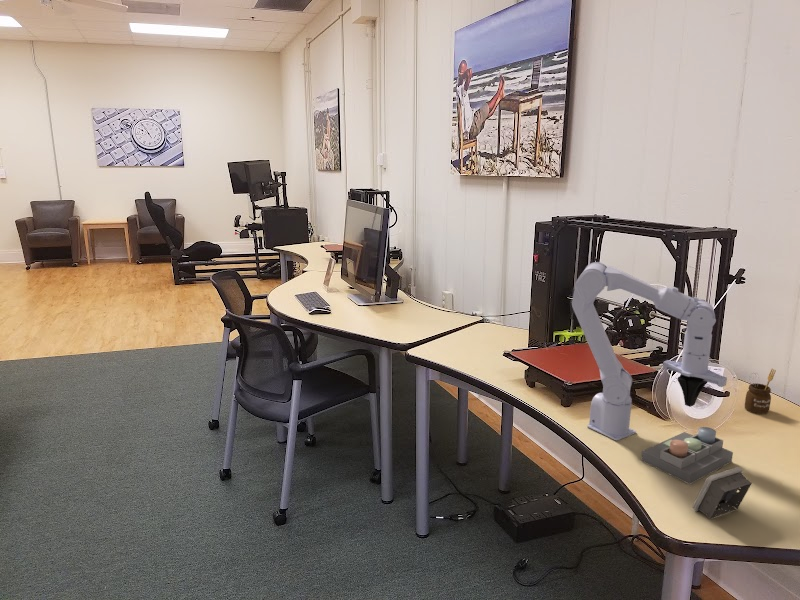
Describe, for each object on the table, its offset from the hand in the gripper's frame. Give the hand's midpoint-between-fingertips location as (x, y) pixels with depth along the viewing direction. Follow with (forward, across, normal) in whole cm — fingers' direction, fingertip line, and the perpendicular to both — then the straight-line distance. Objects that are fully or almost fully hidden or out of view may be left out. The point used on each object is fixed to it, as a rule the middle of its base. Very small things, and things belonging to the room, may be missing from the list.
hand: (689, 404), depth 142 cm
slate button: (+6, +6, -2) cm, 9 cm away
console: (+10, +5, -8) cm, 14 cm away
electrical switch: (+11, +19, -21) cm, 30 cm away
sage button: (+7, +6, -8) cm, 12 cm away
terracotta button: (+6, +5, -13) cm, 16 cm away
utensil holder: (+11, +2, +34) cm, 36 cm away
